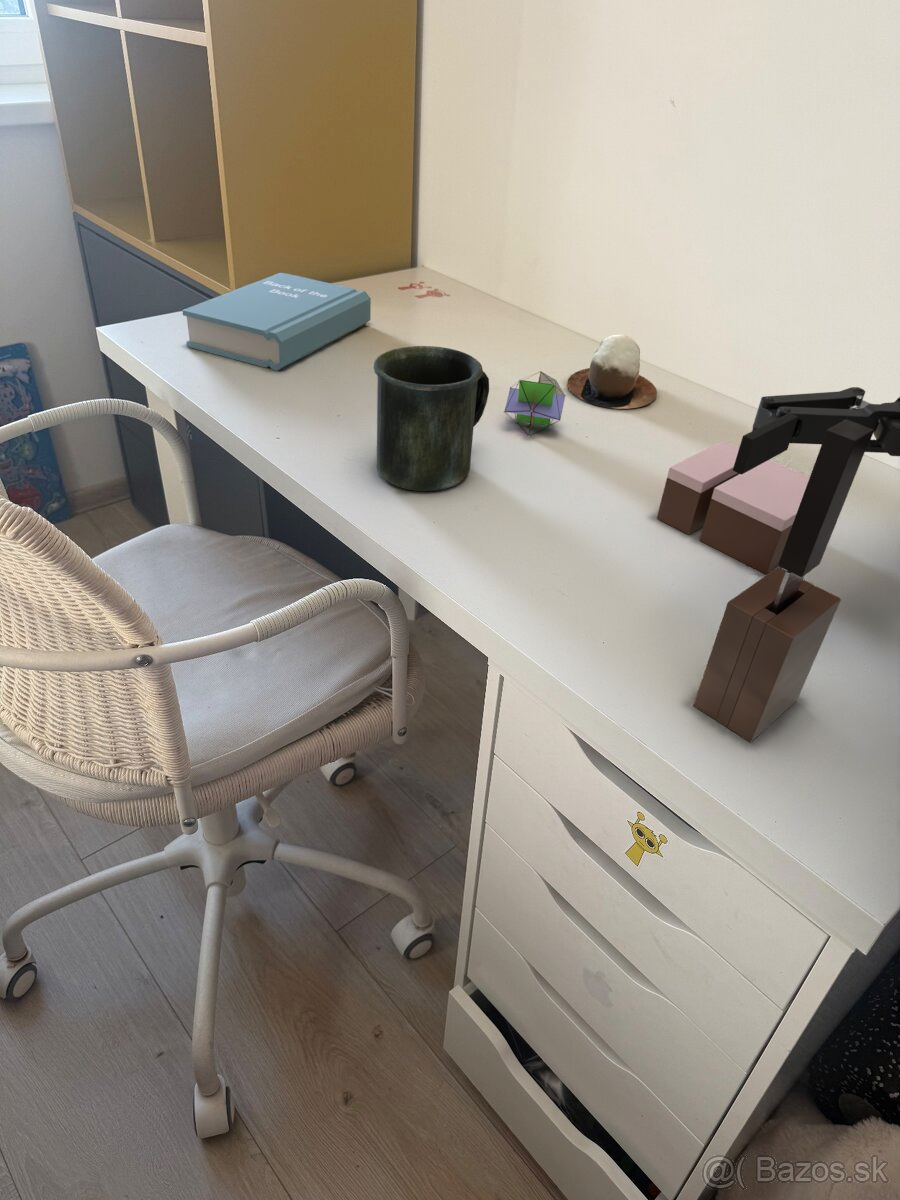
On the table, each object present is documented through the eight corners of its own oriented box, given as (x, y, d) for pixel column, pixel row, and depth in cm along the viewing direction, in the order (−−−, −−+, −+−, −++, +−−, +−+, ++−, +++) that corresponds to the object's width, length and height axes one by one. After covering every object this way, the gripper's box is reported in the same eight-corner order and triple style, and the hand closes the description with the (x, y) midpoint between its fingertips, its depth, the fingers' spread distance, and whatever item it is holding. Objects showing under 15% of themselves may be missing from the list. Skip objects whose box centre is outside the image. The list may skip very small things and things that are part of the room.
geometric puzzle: (557, 434, 95) (570, 365, 95) (499, 425, 96) (511, 357, 96) (557, 447, 102) (568, 383, 102) (502, 438, 103) (513, 375, 103)
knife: (765, 700, 64) (875, 428, 51) (745, 718, 63) (853, 441, 49) (745, 688, 65) (847, 418, 52) (725, 705, 64) (825, 430, 50)
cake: (816, 539, 84) (836, 487, 81) (766, 574, 79) (785, 520, 75) (750, 509, 88) (767, 458, 85) (699, 540, 83) (714, 487, 79)
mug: (351, 467, 90) (350, 360, 83) (446, 431, 99) (452, 331, 92) (419, 507, 84) (425, 396, 77) (514, 465, 93) (526, 361, 86)
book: (282, 304, 132) (281, 272, 129) (370, 325, 126) (370, 292, 123) (187, 346, 115) (182, 310, 112) (283, 372, 110) (281, 335, 107)
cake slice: (740, 504, 89) (757, 454, 86) (688, 535, 83) (703, 482, 80) (709, 489, 91) (723, 440, 88) (656, 518, 86) (669, 466, 82)
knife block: (797, 700, 65) (841, 598, 59) (750, 742, 61) (793, 638, 55) (740, 667, 67) (778, 566, 61) (692, 705, 63) (727, 602, 57)
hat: (569, 358, 117) (628, 312, 112) (613, 414, 120) (673, 372, 114) (552, 386, 108) (616, 336, 102) (601, 446, 110) (665, 401, 105)
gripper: (1105, 520, 62) (1008, 633, 49) (798, 405, 76) (663, 471, 63) (1164, 427, 57) (1073, 526, 45) (826, 323, 71) (686, 377, 59)
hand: (833, 494), depth 54 cm, fingers open, 13 cm apart
